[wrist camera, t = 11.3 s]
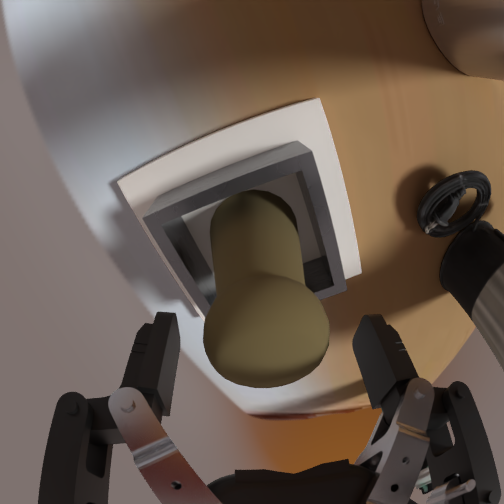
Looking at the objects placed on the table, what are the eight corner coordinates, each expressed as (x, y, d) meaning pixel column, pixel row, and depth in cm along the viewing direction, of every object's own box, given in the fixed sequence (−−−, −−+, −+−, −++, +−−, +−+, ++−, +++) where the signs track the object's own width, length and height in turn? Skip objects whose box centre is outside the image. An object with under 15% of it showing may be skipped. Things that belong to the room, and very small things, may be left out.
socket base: (314, 97, 15) (319, 97, 14) (356, 264, 22) (361, 273, 21) (123, 176, 17) (116, 181, 16) (206, 314, 24) (205, 324, 23)
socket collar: (297, 140, 16) (311, 150, 13) (332, 261, 21) (347, 290, 18) (157, 196, 17) (142, 218, 14) (217, 300, 22) (215, 332, 19)
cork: (279, 275, 21) (306, 407, 12) (201, 256, 20) (179, 394, 10) (310, 204, 18) (379, 325, 9) (222, 178, 17) (205, 295, 7)
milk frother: (472, 289, 26) (532, 374, 13) (377, 294, 24) (443, 427, 12) (513, 185, 18) (603, 256, 6) (423, 148, 17) (579, 245, 4)
